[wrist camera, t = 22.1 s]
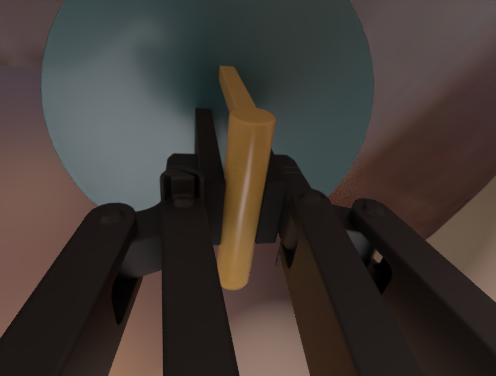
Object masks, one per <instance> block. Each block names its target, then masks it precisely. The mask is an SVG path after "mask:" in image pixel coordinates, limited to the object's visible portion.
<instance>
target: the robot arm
mask: <svg viewBox="0 0 496 376" xmlns="http://www.w3.org/2000/svg"><path fill="white" fill-rule="evenodd" d="M159 180H160V196H161V201H160V202H159V203H158V204H156V205H155V206H153V207H151V208H148V209H145V210H141V211H136V212H135V210H134V208H133V207H131V206H130V205H128V204H124V203H120V202H119V203H107V204H103V205H100V206H98V207H96V208H94V209H92V210H91V212H90V213H88V214H87V216H86V217H85V218H84V220H83V221H82V223H81V224H80V226H79V227H78V228H77V230H76V232H75V233H74V234H73V236H72V237H71V238H70V240H69V241H68V243H67V244H66V246H65V247H64V248H63V250H62V251H61V253H60V254H59V255H58V257H57V258H56V260H55V261H54V263H53V264H52V265H51V267H50V268H49V270H48V271H47V273H46V274H45V275H44V277H43V278H42V280H41V281H40V283H39V284H38V286H37V287H36V288H35V290H34V291H33V293H32V294H31V295H30V297H29V298H28V300H27V301H26V302H25V304H24V305H23V307H22V308H21V310H20V311H19V312H18V314H17V315H16V317H15V318H14V320H13V321H12V322H11V324H10V325H9V327H8V328H7V330H6V331H5V332H4V334H3V335H2V337H1V338H0V376H108V374H109V372H110V369H111V366H112V363H113V361H114V358H115V355H116V352H117V349H118V346H119V344H120V341H121V338H122V335H123V333H124V330H125V327H126V324H127V321H128V318H129V316H130V313H131V310H132V307H133V305H134V302H135V299H136V296H137V293H138V291H139V288H140V285H141V282H142V279H143V276H144V275H147V274H151V273H154V272H157V271H160V270H162V327H163V328H162V329H163V376H239V371H238V366H237V361H236V356H235V351H234V346H233V342H232V337H231V332H230V327H229V322H228V317H227V312H226V307H225V303H224V297H223V292H222V287H221V282H220V277H219V273H218V268H217V263H216V258H215V253H214V248H213V245H220V243H221V231H222V220H223V208H224V196H225V184H226V182H225V178H224V172H223V167H222V162H221V157H220V152H219V147H218V142H217V137H216V132H215V127H214V122H213V117H212V112H211V109H203V108H195V154H186V153H173V154H172V155H171V156H170V157H169V158H168V159H167V165H166V171H164V172H163V173H162V174H161V176H160V179H159ZM277 233H279V236H280V239H281V242H280V246H279V250H278V255H277V259H276V267H279V263H280V260H281V262H282V266H283V270H284V274H285V278H286V282H287V285H288V290H289V294H290V297H291V301H292V306H293V309H294V314H295V318H296V321H297V325H298V329H299V333H300V337H301V341H302V345H303V349H304V353H305V357H306V361H307V365H308V369H309V373H310V376H496V302H495V301H493V300H492V299H491V298H490V297H489V296H487V294H485V293H484V292H483V291H482V290H481V289H480V288H479V287H477V286H476V285H475V284H474V283H473V282H472V281H471V280H470V279H468V278H467V277H466V276H465V275H464V274H463V273H462V272H460V271H459V270H458V269H457V268H456V267H455V266H454V265H452V264H451V263H450V262H449V261H448V260H447V259H446V258H445V257H443V256H442V255H441V254H440V253H439V252H438V251H437V250H436V249H434V248H433V247H432V246H431V245H430V244H429V243H428V242H426V241H425V240H424V239H423V238H422V237H421V236H420V235H418V234H417V233H416V232H415V231H414V230H413V229H412V228H411V227H409V226H408V225H407V224H406V223H405V222H404V221H403V220H401V219H400V218H399V217H398V216H397V215H396V214H395V213H394V212H392V211H391V210H390V209H389V208H388V207H386V206H385V205H383V204H382V203H380V202H378V201H376V200H373V199H372V200H371V199H358V200H355V202H354V203H353V205H352V207H351V208H347V207H341V206H336V205H333V204H331V202H330V200H329V198H328V197H327V196H326V195H325V194H323V193H322V192H320V191H318V190H315V189H312V188H311V186H310V185H309V183H308V182H307V180H306V178H305V177H304V175H303V174H302V172H301V170H300V168H299V167H298V165H297V163H296V162H295V160H294V159H292V158H291V157H289V156H288V155H281V154H274V152H273V150H272V148H271V152H270V158H269V164H268V170H267V176H266V181H265V187H264V193H263V199H262V205H261V210H260V216H259V222H258V228H257V234H256V239H255V243H256V244H258V243H275V242H276V237H277ZM376 251H378V252H379V253H380V254H381V255H382V256H383V258H382V260H381V262H380V263H378V262H376V261H375V260H374V259H373V257H374V255H375V253H376Z"/></svg>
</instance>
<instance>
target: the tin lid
mask: <svg viewBox="0 0 496 376" xmlns="http://www.w3.org/2000/svg"><path fill="white" fill-rule="evenodd" d="M40 85H41V104H42V109H43V114H44V119H45V124H46V128H47V131H48V134H49V136H50V139H51V142H52V145H53V148H54V150H55V152H56V154H57V156H58V158H59V159H60V161H61V163H62V165H63V167H64V168H65V170H66V171H67V173H68V174H69V176H70V177H71V179H72V180H73V181H74V183H75V184H76V185H77V186H78V187H79V189H81V191H82V192H83V193H84V194H85V195H86V196H87V198H89V199H90V200H91V201H92V202H93V203H94V204H96V205H97V206H100V205H103V204H107V203H119V202H120V203H124V204H128V205H130V206H131V207H133V208H134V210H135V212H136V211H141V210H145V209H148V208H151V207H153V206H155V205H156V204H158V203H159V202H160V201H161V196H160V180H159V179H160V176H161V174H162V173H163V172H164V171H166V165H167V159H168V158H169V157H170V156H171V155H172V154H173V153H186V154H195V108H203V109H211V112H212V117H213V122H214V127H215V132H216V137H217V142H218V147H219V152H220V157H221V162H222V167H223V172H224V178H225V182H226V184H225V196H224V208H223V220H222V231H221V243H220V245H213V246H218V258H217V268H218V273H219V277H220V282H221V286H222V287H224V288H226V289H229V290H237V289H240V288H242V287H244V285H246V284H247V282H248V279H249V274H250V268H251V262H252V257H253V250H254V245H255V239H256V234H257V228H258V222H259V216H260V210H261V205H262V199H263V193H264V187H265V181H266V176H267V170H268V164H269V158H270V152H271V148H272V150H273V152H274V154H281V155H288V156H289V157H291V158H292V159H294V160H295V162H296V163H297V165H298V167H299V168H300V170H301V172H302V174H303V175H304V177H305V178H306V180H307V182H308V183H309V185H310V186H311V188H312V189H315V190H318V191H320V192H322V193H323V194H325V195H326V196H327V197H328V196H329V195H330V194H331V193H332V191H333V190H334V189H335V188H336V187H337V186H338V185H339V184H340V182H341V181H342V179H343V178H344V176H345V175H346V174H347V172H348V171H349V169H350V168H351V166H352V164H353V162H354V160H355V159H356V157H357V155H358V153H359V151H360V148H361V146H362V143H363V141H364V139H365V136H366V132H367V129H368V125H369V122H370V117H371V111H372V105H373V93H374V76H373V65H372V58H371V54H370V50H369V45H368V41H367V38H366V35H365V32H364V30H363V27H362V25H361V22H360V19H359V17H358V15H357V14H356V12H355V10H354V8H353V7H352V5H351V3H350V1H349V0H65V1H64V3H63V4H62V6H61V8H60V10H59V12H58V14H57V16H56V18H55V20H54V23H53V25H52V27H51V29H50V32H49V35H48V39H47V43H46V46H45V50H44V53H43V60H42V69H41V78H40Z"/></svg>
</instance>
